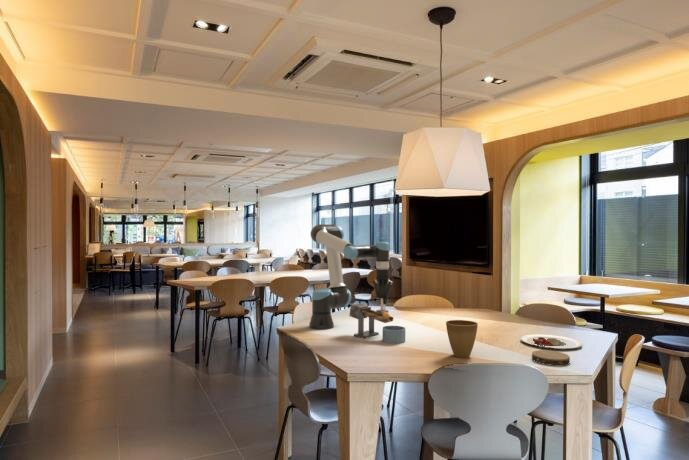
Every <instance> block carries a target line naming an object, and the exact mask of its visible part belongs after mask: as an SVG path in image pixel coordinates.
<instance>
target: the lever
mask: <svg viewBox="0 0 689 460" xmlns="http://www.w3.org/2000/svg"><path fill="white" fill-rule="evenodd" d="M385 312H387V313H389V310H388V309H386V310H381V308H379V309H376V310H373V309H372V306H369V305H367V304H363V303H360V302H357V303H351V304H350V308H349V315H348V316H349V317H351V318H354V319H356V320H358V313H364V319H367V318H368V319H369V318H372V319H374V321H377V322H381V323H383V324H387V323H390V322H393V321H394V316H390V317H389V319H387V320H386V319H385V318H383V313H385Z"/></svg>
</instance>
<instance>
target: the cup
mask: <svg viewBox="0 0 689 460" xmlns="http://www.w3.org/2000/svg"><path fill="white" fill-rule="evenodd" d="M382 342H384V343H386V344H394V345H395V344H404V343H406V327H404V326H400V325H385V326H383V327H382Z"/></svg>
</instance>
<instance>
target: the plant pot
mask: <svg viewBox="0 0 689 460" xmlns="http://www.w3.org/2000/svg"><path fill="white" fill-rule="evenodd" d="M478 324H479V323H478V322H476V321H473V320H464V319H450V320H447V321H445V326H446V332H447V337H448V342H449V345H450V349H451V351H452V354H453V356H454V357H456V358H463V359H464V358H470V356H471V354H472V351H473V349H474V346H475V345H474V344H475V340H476V337H477V332H478Z"/></svg>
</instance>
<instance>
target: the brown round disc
mask: <svg viewBox="0 0 689 460" xmlns="http://www.w3.org/2000/svg"><path fill="white" fill-rule="evenodd" d="M570 358H571V357H570V355H568V354H567V353H563V352H560V351H555V350H546V349H545V350H544V349H543V350H542V349H541V350H540V349H539V350H534V351H532V353H531V360H532V361H534V360H535V361H534V362H536V361H537V362H536V363H538V362H540V363H539V364H542V363H544V364H543V365H547V364H551V365H550V366H556V365H562V366H566V365H565V364H568V363H569V362H570V361H571V359H570ZM569 364H570V363H569ZM569 364H568V365H569Z"/></svg>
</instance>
